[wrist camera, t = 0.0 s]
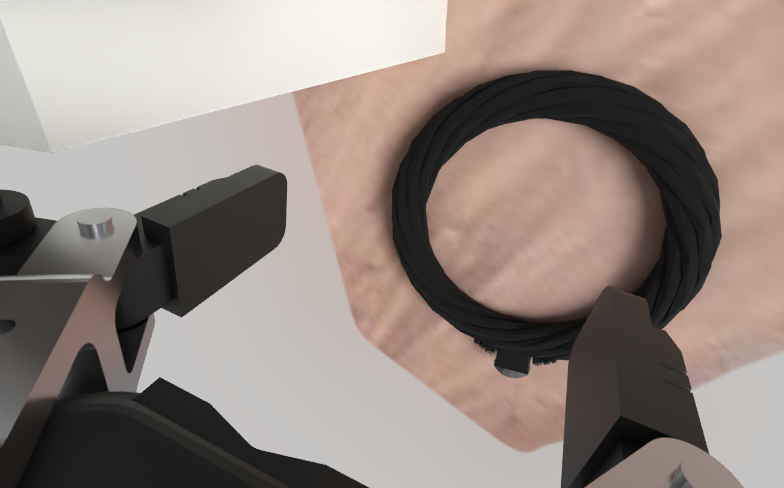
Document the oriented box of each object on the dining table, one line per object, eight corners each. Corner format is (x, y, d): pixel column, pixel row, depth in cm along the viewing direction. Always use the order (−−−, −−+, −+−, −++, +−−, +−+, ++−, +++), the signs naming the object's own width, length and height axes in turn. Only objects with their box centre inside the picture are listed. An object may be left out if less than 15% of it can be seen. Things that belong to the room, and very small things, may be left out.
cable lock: (799, 79, 26) (659, 420, 40) (776, 72, 29) (654, 391, 43) (380, 68, 35) (387, 347, 49) (397, 64, 38) (399, 327, 52)
